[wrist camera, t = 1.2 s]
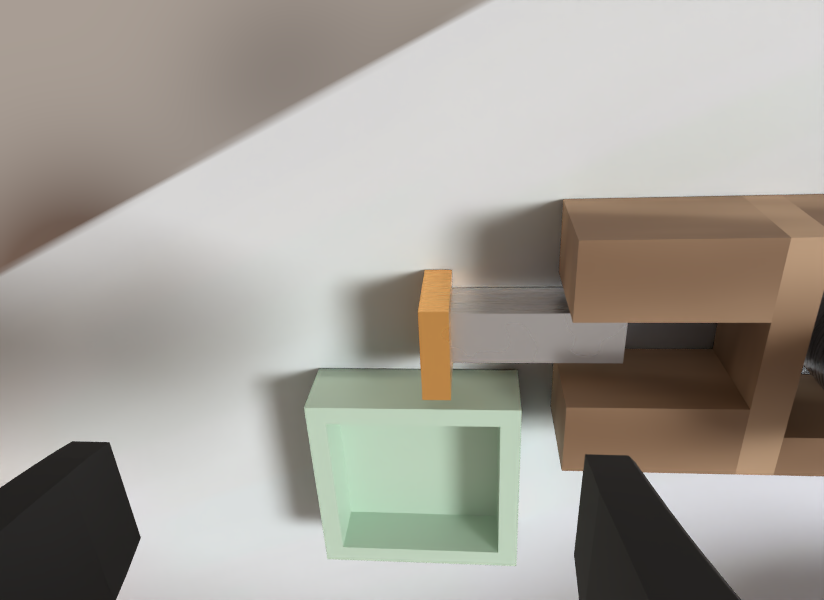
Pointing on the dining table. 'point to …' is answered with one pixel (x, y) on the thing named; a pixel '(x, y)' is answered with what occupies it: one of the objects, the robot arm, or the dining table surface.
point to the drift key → (503, 330)
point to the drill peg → (817, 348)
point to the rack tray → (416, 466)
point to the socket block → (696, 303)
